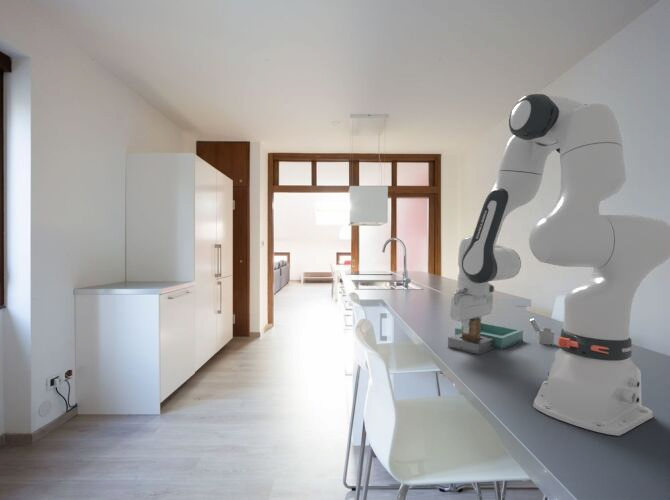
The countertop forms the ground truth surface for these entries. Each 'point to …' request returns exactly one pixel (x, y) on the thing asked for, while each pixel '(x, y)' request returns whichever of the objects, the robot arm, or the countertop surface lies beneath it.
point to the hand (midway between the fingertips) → (471, 331)
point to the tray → (498, 334)
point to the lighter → (543, 333)
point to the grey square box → (471, 344)
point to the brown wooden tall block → (473, 330)
